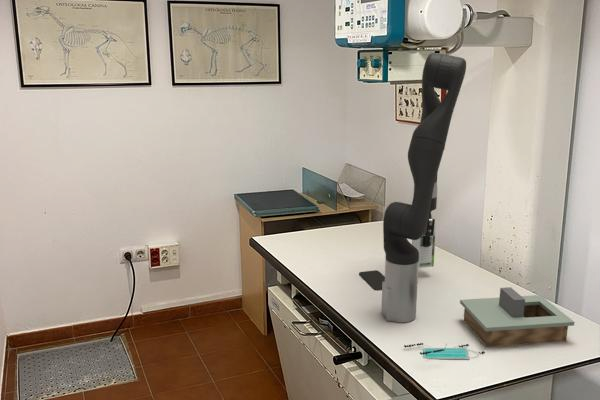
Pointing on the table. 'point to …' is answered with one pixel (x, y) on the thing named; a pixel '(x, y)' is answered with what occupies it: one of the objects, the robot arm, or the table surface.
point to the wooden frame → (518, 331)
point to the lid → (513, 312)
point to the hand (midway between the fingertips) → (422, 243)
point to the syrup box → (425, 251)
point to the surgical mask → (445, 353)
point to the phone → (373, 279)
